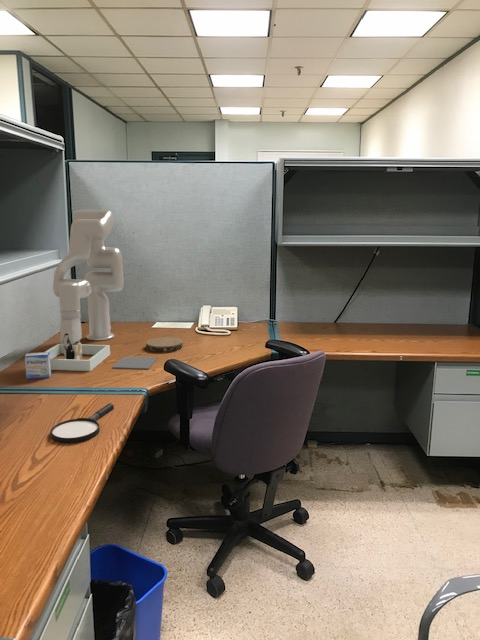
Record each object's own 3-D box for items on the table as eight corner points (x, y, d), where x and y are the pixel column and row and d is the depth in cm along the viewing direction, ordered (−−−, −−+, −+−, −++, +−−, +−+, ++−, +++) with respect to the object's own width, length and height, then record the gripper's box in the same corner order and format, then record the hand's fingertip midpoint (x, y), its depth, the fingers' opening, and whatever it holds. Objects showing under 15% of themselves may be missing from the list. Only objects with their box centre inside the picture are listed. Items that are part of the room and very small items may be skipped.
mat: (123, 357, 200) (123, 356, 200) (157, 358, 199) (157, 357, 199) (112, 368, 186) (112, 367, 186) (148, 369, 185) (148, 368, 185)
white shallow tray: (59, 352, 206) (58, 343, 205) (110, 354, 204) (109, 345, 204) (33, 369, 185) (32, 358, 184) (90, 371, 183) (89, 360, 182)
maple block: (70, 359, 197) (69, 342, 196) (82, 359, 197) (81, 343, 195) (65, 363, 192) (63, 346, 191) (77, 363, 192) (76, 346, 190)
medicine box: (26, 379, 173) (24, 356, 171) (28, 375, 178) (26, 352, 176) (50, 377, 175) (48, 354, 174) (51, 373, 180) (49, 351, 178)
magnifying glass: (129, 412, 147) (129, 405, 146) (81, 448, 125) (81, 440, 124) (93, 407, 150) (92, 400, 150) (40, 441, 128) (40, 433, 128)
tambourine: (187, 345, 221) (187, 338, 221) (174, 354, 206) (173, 347, 206) (155, 342, 225) (155, 336, 225) (139, 351, 210) (139, 344, 210)
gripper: (70, 309, 199) (73, 352, 203) (51, 318, 182) (55, 365, 186) (88, 310, 198) (90, 353, 202) (71, 318, 182) (74, 365, 186)
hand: (73, 358), depth 194 cm, fingers closed on maple block, 5 cm apart
